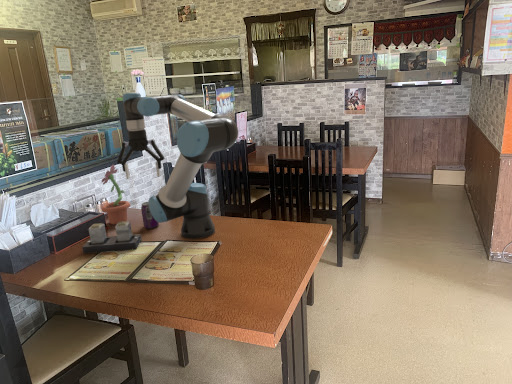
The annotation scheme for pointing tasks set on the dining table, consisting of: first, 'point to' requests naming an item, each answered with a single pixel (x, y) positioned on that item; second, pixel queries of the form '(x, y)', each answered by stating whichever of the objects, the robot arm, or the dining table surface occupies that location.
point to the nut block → (124, 232)
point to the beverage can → (148, 216)
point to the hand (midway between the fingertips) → (143, 177)
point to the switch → (107, 241)
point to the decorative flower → (117, 208)
